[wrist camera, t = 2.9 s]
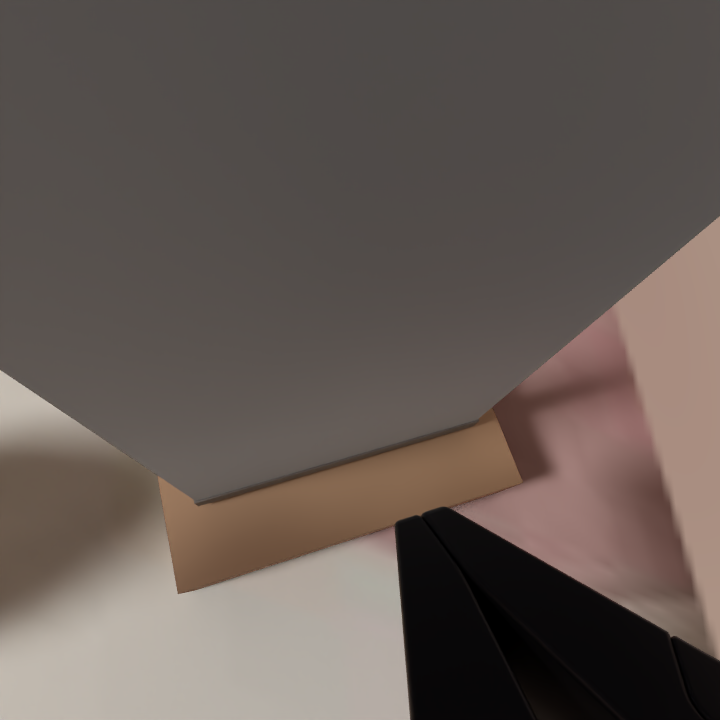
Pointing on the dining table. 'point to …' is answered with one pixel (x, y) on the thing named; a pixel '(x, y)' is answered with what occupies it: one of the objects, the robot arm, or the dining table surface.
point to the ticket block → (332, 504)
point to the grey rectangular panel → (332, 211)
